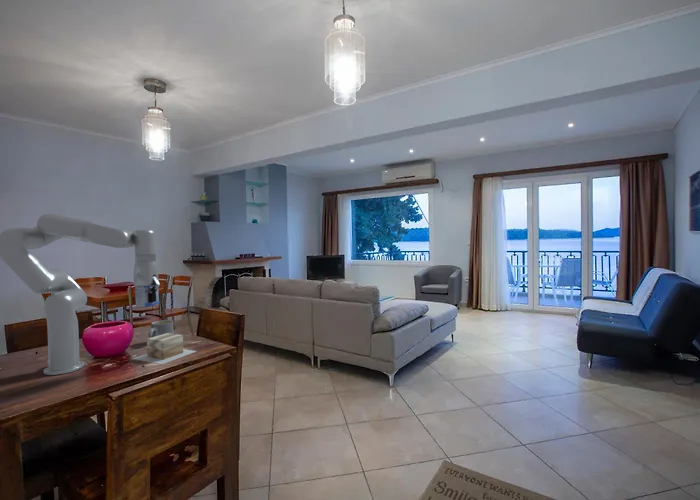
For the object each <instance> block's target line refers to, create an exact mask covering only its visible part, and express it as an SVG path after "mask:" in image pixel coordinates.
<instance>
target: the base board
mask: <svg viewBox="0 0 700 500" xmlns="http://www.w3.org/2000/svg"><path fill="white" fill-rule="evenodd" d="M196 352H197V350H191V349H185V348H183V353H181V354H178V355H176V356H173V357H170V358H167V359H164V360H162V359H156V358H151V357H147V353H145V354H143V355H142V354H141V355H139V356H136V357H134V358H132V360H136V361H141V362H147V363H153V364H159V365H164V364H166V363H169V362H172V361H174V360H176V359H179V358H183V357H185V356H187V355H190V354H194V353H196Z"/></svg>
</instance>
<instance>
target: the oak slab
mask: <svg viewBox="0 0 700 500" xmlns="http://www.w3.org/2000/svg"><path fill="white" fill-rule="evenodd" d="M183 349H184V343H183V344H181V345H178V346H175V347H172V348H169V349H166V350H157V349H151V348H147V347H146V354H147V357H151V358H156V359H162V360H164V359H167V358H170V357H173V356H176V355H178V354H181V353H183Z"/></svg>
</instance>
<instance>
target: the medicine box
mask: <svg viewBox="0 0 700 500" xmlns="http://www.w3.org/2000/svg"><path fill="white" fill-rule="evenodd" d="M151 289H152V287H151ZM134 293H135V307H136V308H147V307H151V306H155V305H159V304H160V298H159V297H160V296H159V288H158V289H157V292H156V302H151V303H149V302H148V293H149V290H148V286H134Z"/></svg>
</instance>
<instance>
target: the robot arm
mask: <svg viewBox="0 0 700 500" xmlns="http://www.w3.org/2000/svg"><path fill="white" fill-rule="evenodd" d="M155 235H156V234H155V231H154V230H152V229H137V230H130V229H121V228H114V227H110V226H105V225H100V224H96V223H93V222H92V221H90V220H86V219H81V218H76V217H71V216H68V215H66V214H59V213H44V214H42V215H40V216H39V217H38V218H37V220H36V226H35V227H22V226H21V227H11V228H10V227H9V228H7V229H5V230H3V231H1V232H0V259H1V260H2V262H3V263H4V264H5V265H6V266H8V268H10V269H11V270H12V271H13V272H14V274H16V276H17V277H18V278H19V279H20V280H21V281H22V282H23V284H25V285H26V286H27V288H29V289H30V291H32V292H33V293H35V294H38V295H39V294H40V295H44V294H49V293H50V295H49V296H48V297H47V298H45V301H44V304H43V309H44V315H45V319H46V326H47V327H46V329H47V350H48V351H47V352H48V355H47V357H48V359H47V360H46V362H47V363H48V366H47V367H46V368H44V369H43V375H47V376H55V375H56V376H58V375H63V374H64V375H65V374H68V373H72V372H76V371H78V370H81V369H82V368H83V367H84V366H85V362H84V361H81V360H80V341H79V340H80V337H79V320H78V316H77V314H76V312H77V311H79V310H80V309H82V308H84V306H86V305H87V302H88V295H87V294H86V292H85V291H84V289H83V288H82V287H81V286H80V285H79V283H77V282H76V281H75V280H74V279H73V278H72V277H71V276H70V275H69V274H68V273H67V272H66V271H64V270H62V269H59V268H48V267H47V266H46V265H45V264H43V262H42V261H41V260H40V259H39V258H38V257H37V256H36V255H34V254H33V253H31V252H30V251H29V250H34V249H35V250H36V249H40V248H43V247H45V246H48V245H50V244H52V243H54V242H56V241H58V240H60V239H62V238H67V239H71V240H75V241H81V242H85V243H90V244H95V245H100V246H105V247H110V248H117V249H126V248H127V249H128V248H134V257H135V258H134V259H135V260H134V261H135V262H134V266H133V285H134V287H136V286H148V290H149V293H148V302H149V303H151V302H156V292H157V289H158V290H159V287H160V286H161V284H160V282H159V271H158V264H157V255H156V254H157V253H156V236H155ZM151 287H152V289H151Z"/></svg>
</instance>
